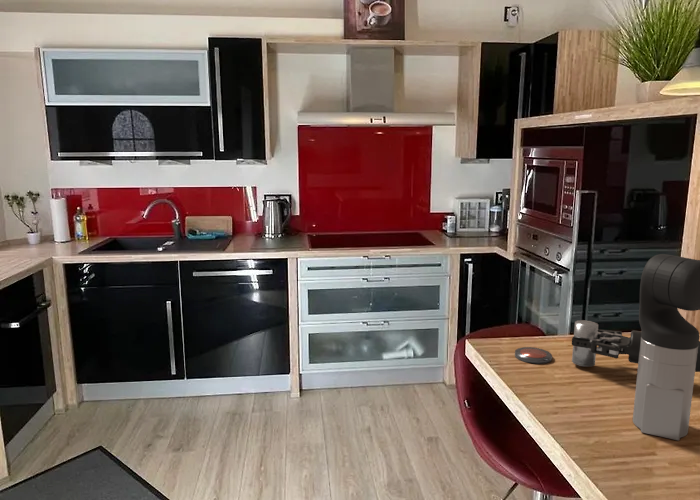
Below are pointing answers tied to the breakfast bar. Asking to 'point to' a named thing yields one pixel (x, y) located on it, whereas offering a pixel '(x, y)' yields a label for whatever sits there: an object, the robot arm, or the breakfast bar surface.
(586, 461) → the breakfast bar surface
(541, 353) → the flange pad
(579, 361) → the grey metal cylinder
